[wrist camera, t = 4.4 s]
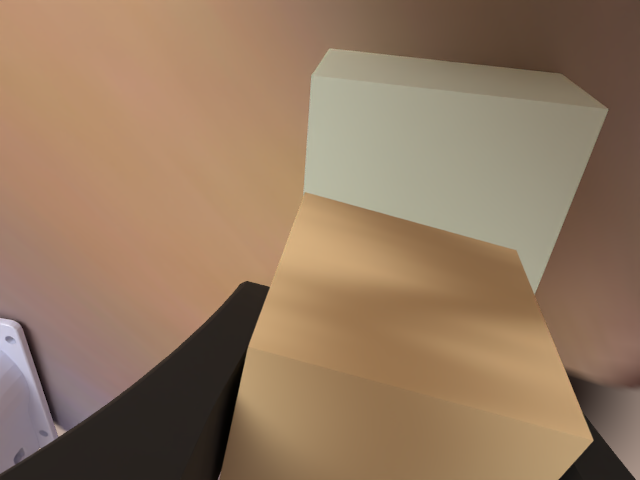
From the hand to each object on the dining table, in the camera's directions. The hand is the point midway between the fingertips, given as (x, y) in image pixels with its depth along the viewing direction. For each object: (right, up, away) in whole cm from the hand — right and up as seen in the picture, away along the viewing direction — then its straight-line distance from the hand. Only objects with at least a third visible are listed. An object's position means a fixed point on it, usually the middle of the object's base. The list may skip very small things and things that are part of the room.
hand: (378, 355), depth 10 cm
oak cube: (0, +1, +1) cm, 2 cm away
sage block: (+2, +5, +7) cm, 9 cm away
